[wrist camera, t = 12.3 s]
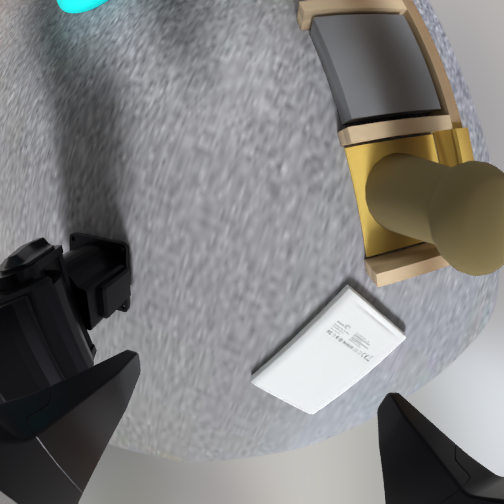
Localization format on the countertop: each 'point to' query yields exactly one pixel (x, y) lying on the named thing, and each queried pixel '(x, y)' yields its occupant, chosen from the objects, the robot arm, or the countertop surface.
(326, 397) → the external hard drive
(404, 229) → the olive brown pawn
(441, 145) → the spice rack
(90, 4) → the donuts
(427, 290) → the countertop surface
